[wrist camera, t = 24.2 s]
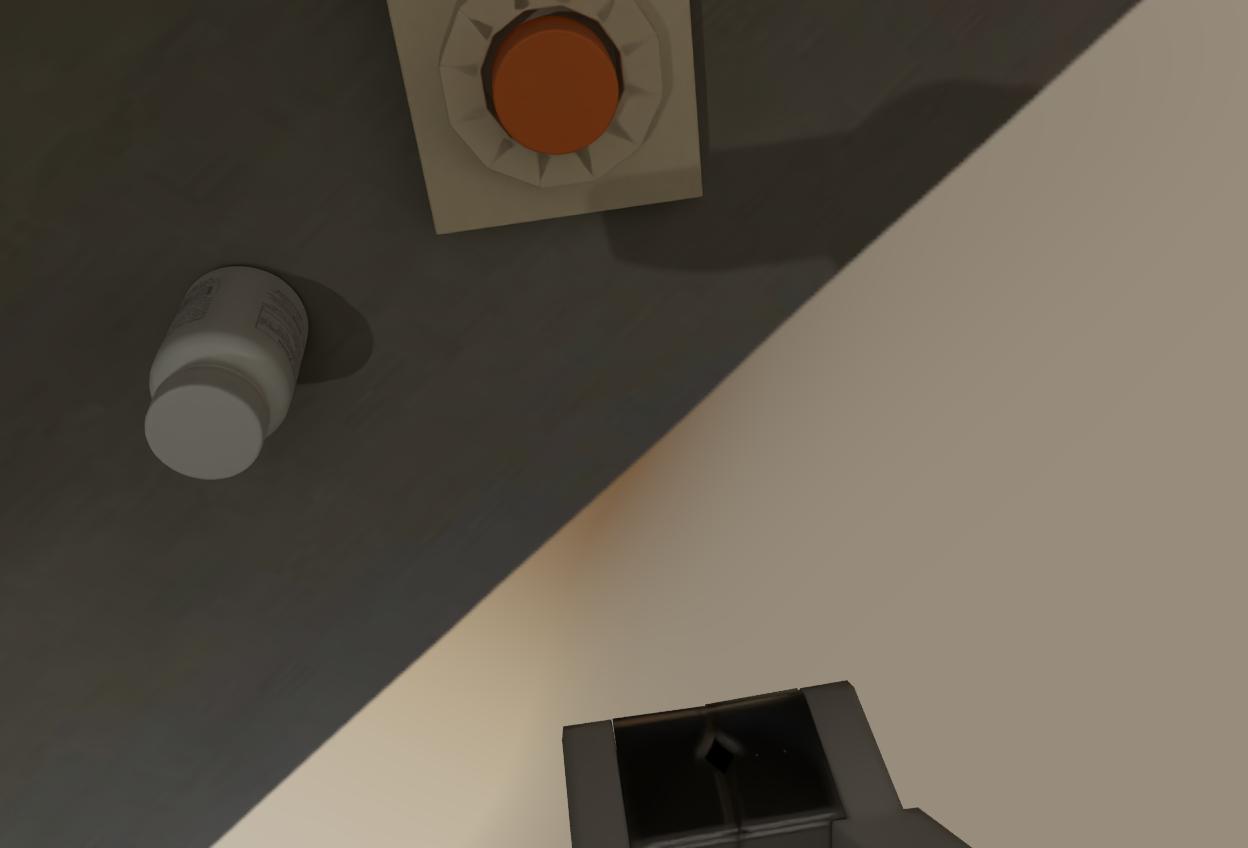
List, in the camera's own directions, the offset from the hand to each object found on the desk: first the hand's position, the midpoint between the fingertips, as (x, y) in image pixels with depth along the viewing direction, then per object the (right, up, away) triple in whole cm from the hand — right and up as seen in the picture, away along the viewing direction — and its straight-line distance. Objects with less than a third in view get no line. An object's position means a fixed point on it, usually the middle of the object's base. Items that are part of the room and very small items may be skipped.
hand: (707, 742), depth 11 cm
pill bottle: (-14, +7, +28) cm, 33 cm away
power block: (-3, +16, +24) cm, 29 cm away
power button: (-3, +14, +21) cm, 26 cm away
